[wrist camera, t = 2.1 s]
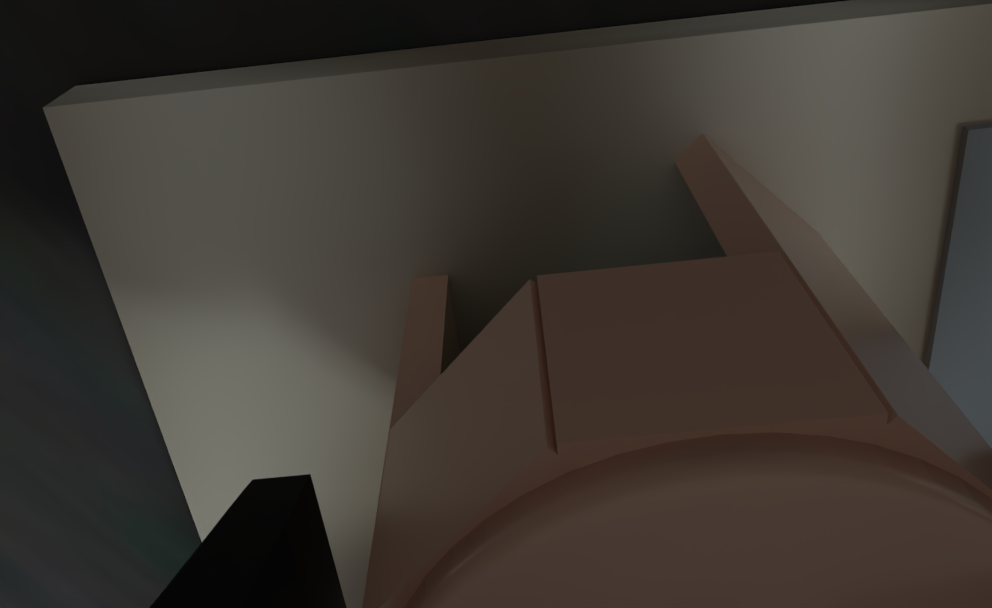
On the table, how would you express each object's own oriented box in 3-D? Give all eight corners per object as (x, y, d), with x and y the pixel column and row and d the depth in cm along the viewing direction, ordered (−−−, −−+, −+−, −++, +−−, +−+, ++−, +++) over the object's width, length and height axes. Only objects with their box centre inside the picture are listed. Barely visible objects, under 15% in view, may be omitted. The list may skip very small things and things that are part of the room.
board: (1801, -105, 11) (1934, -97, 10) (1285, 797, 20) (1328, 849, 19) (74, 85, 12) (37, 111, 11) (343, 867, 21) (336, 920, 20)
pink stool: (831, 117, 11) (1209, 447, 5) (801, 462, 14) (1031, 927, 8) (392, 163, 11) (297, 527, 6) (449, 493, 14) (426, 968, 8)
